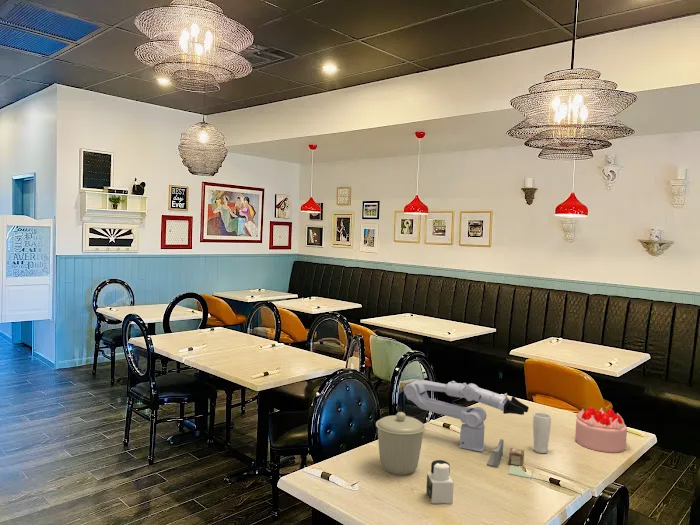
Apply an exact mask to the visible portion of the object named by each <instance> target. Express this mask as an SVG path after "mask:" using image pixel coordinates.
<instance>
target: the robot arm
mask: <svg viewBox="0 0 700 525" xmlns="http://www.w3.org/2000/svg"><path fill="white" fill-rule="evenodd" d="M427 391H430V392H431V391H432V392H440V393H445V394H446V395H447V396H449V397H453V398H454V397H455V398H461V399H463V398H464V399H466V401H468V402H472V401H475V402H478V403H479V404H483V405H485V406H488V407H492V408H495V409H497V410H500V411H502V412H503V414H504V415H505V414H512V415H513V414H514V415H520V416H524V414H525V413H528V411H529V406H528V405H526V404H524V403H523V402H521V401H520V400H518V399H517V398H516V397H515V396H511V399H510V398H509V397H508V393H507V392H506V393H504V395H503V394H499V393H497V392H494V391H491V390H488V389H484V388H481V387H479V386H478V385H477V384H475V383H472V382H471V383H468V384H467V382H463V383H461V382H459V383H458V382H456V381H455V380H452V381H449V382H448V383H441V382H438V381H437V382H435V381H430V380H425V379H414V380H413V381H411V382H410V383H409V382H408V383H407V384H406V385H405V386H404V388H403V392H404V395H405V397H406V399H407V400H409V401H411V402H412V403H413V404H414V405H416V406H417V407H418V408H419V409H420V410H424V411H428V412H432V413H436V414H439V415H443V416H446V417H450V418H454V419H457V420H459V421H460V422H461V423H462V424H461V425H460V431H459V432H460V433H459V446H458V447H459V448H460V449H465V450H470V451H474V452H475V451H476V452H479V453H480V452H482V453H483V452H484V450H485V448H486V446H487V444H486V443H485V423H484V422H485V421H486V419H487V411H486V410H485V409H484V407H483V408H482V407H481V406H475V407H472V406H466V407H465V406H460V405H458V404H452V403H449V402H447V401H446V402H445V401H441V400H438V399H433V398H430V397H429V394H428V392H427Z"/></svg>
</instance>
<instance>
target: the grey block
mask: <svg viewBox="0 0 700 525" xmlns="http://www.w3.org/2000/svg"><path fill="white" fill-rule="evenodd" d="M504 440H505V439H501V438H500V439H499V441H498V443H497V446H496V448H495V451H494V450H493V451H492V452H491V453H490V456H489V458H488V461H487V462H486V466H488V467H493V468H496V469H497V468H499V465H500V464H501V463H500V462H501V460H502V458H503V455H504ZM501 457H502V458H501Z"/></svg>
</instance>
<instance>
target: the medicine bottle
mask: <svg viewBox="0 0 700 525" xmlns="http://www.w3.org/2000/svg"><path fill="white" fill-rule="evenodd" d="M430 465H431V466H430V467H431V468H430V472H427V473H426V495H427V497H428V500H429V501H430V503H431V504H454V503H453V502H454V481H453V478H452V477H451V476H450V475H451V465H450V463H449V462H448V461H445V460H442V459H436V460H433V461H432V462H431V464H430Z"/></svg>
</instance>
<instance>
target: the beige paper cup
mask: <svg viewBox="0 0 700 525" xmlns="http://www.w3.org/2000/svg"><path fill="white" fill-rule="evenodd" d="M532 418H533V419H532V430H533V451H534V452H536V453H538V454H546V453H548V447H549V440H550V433H551V426H552V416H551V415H550V414H549V413H545V412H534V413H533V417H532Z"/></svg>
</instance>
